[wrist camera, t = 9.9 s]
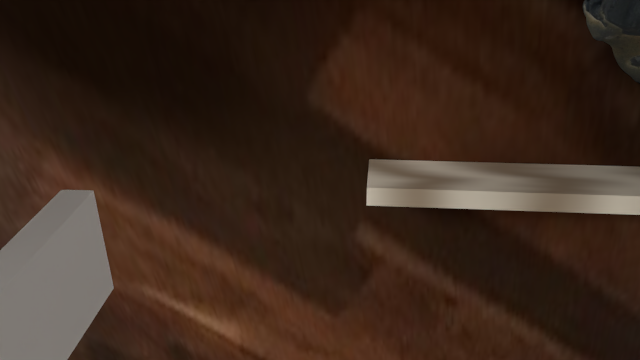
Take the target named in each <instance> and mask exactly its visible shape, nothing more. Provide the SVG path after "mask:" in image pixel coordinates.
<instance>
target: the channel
mask: <svg viewBox="0 0 640 360" xmlns="http://www.w3.org/2000/svg"><path fill="white" fill-rule="evenodd" d="M367 205H369V206H397V207H426V208H455V209H484V210H513V211H541V212H570V213H599V214H628V215H640V167H636V166H599V165H562V164H525V163H488V162H451V161H414V160H377V159H369V169H368V180H367Z"/></svg>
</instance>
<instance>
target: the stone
mask: <svg viewBox="0 0 640 360" xmlns="http://www.w3.org/2000/svg"><path fill="white" fill-rule="evenodd" d="M583 12H584V14H585V16H586V22H587V27H588V29H589V31H590V33H591V34H592V36H593V38H594V39H596V40H598V41H604V42H606V43H607V44H609V45H610V46H611V47H612V49H613V54H614V56H615V59H616V61H617V63H618V65H619V66H620V68H621V69H622V70H623V71H624V72H625V73H627V74H628V75H629V76H631V77H632V79H634V80H635V81H636V82H638V83H639V84H640V0H585V1H584V3H583Z"/></svg>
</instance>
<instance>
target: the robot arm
mask: <svg viewBox="0 0 640 360" xmlns="http://www.w3.org/2000/svg"><path fill="white" fill-rule="evenodd" d="M113 288H114V287H113V282H112V277H111V273H110V268H109V263H108V258H107V253H106V249H105V244H104V239H103V234H102V229H101V225H100V220H99V215H98V210H97V205H96V201H95V196H94V191H89V190H61V191H60V192H59V193H58V194H57V195H56V196H55V197H54V198H53V199H52V200H51V201H50V202H49V203H48V204H47V205H46V206H45V207H44V208H43V209H42V210H41V211H40V212H39V213H38V214H37V215H36V216H35V217H34V218H33V219H32V220H31V221H30V222H29V223H28V224H27V225H25V226H24V227H23V228H22V229H21V230H20V231H19V232H18V233H17V234H16V235H15V236H14V237H13V238H12V239H11V240H10V241H9V242H8V243H7V244H6V245H5V246H4V247H3V248H2V249H1V250H0V360H67V359H68V358H69V356H70V355H71V353H72V351H73V350H74V348H75V347H76V345H77V344H78V342H79V341H80V339H81V338H82V336H83V334H84V333H85V331H86V330H87V328H88V327H89V325H90V324H91V322H92V321H93V319H94V318H95V316H96V314H97V313H98V311H99V310H100V308H101V307H102V305H103V304H104V302H105V301H106V299H107V297H108V296H109V294H110V293H111V291H112V290H113Z"/></svg>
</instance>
